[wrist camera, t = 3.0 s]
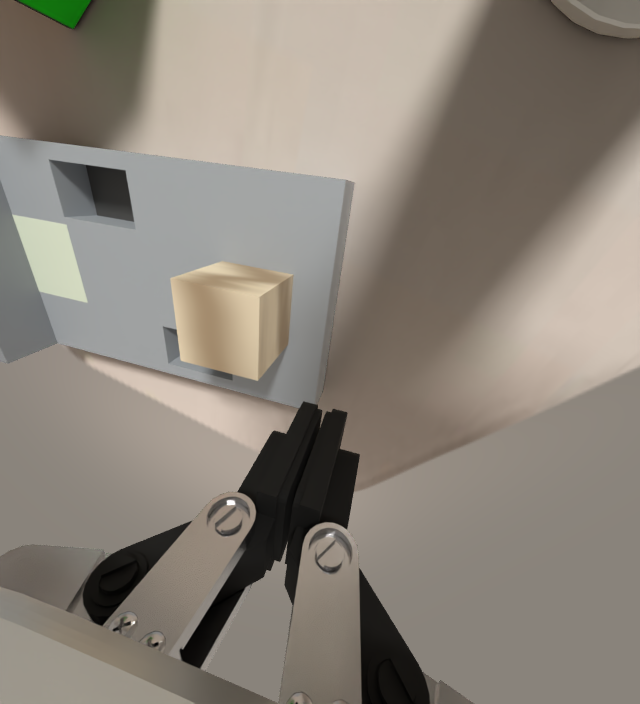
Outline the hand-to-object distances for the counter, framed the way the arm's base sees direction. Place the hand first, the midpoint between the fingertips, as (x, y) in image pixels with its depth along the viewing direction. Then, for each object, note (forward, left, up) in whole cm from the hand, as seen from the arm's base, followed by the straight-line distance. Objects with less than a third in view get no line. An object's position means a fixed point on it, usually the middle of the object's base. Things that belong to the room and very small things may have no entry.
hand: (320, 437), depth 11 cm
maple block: (+7, -1, -10) cm, 12 cm away
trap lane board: (+15, -1, -13) cm, 20 cm away
